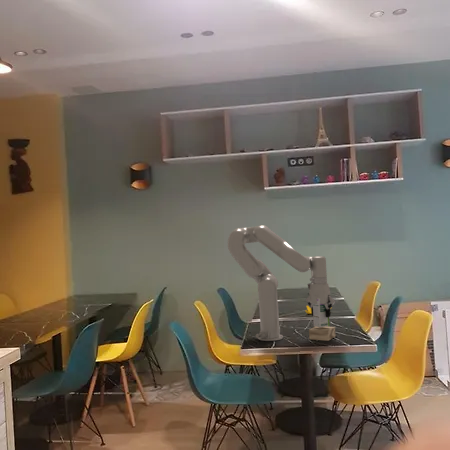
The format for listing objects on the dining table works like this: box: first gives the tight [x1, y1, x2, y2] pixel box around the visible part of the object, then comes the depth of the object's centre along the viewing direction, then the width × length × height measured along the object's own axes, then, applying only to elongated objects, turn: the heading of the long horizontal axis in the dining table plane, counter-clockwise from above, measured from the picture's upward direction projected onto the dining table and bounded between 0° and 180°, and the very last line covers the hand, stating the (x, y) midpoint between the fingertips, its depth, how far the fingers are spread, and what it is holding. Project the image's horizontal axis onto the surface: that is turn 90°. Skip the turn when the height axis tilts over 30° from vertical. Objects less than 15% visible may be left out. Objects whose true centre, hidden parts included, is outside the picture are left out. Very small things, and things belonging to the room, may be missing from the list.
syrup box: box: [312, 298, 331, 328], centre depth 258 cm, size 6×6×14 cm
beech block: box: [308, 326, 336, 342], centre depth 258 cm, size 10×10×5 cm
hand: (321, 315), depth 258 cm, fingers closed on syrup box, 7 cm apart
